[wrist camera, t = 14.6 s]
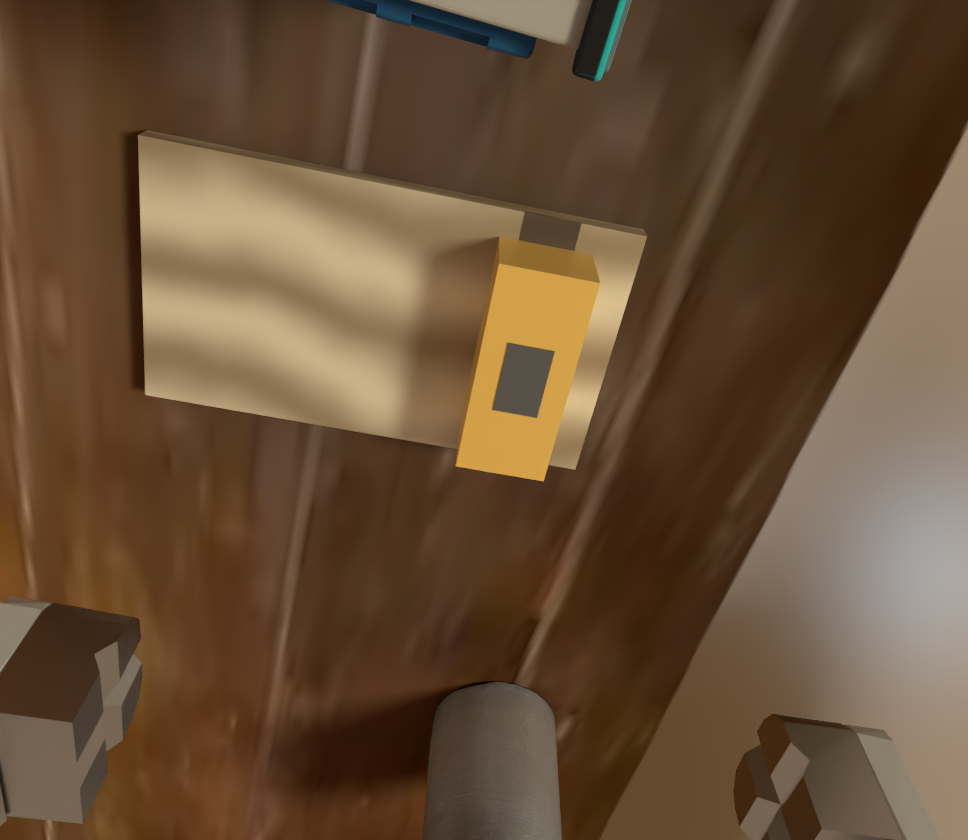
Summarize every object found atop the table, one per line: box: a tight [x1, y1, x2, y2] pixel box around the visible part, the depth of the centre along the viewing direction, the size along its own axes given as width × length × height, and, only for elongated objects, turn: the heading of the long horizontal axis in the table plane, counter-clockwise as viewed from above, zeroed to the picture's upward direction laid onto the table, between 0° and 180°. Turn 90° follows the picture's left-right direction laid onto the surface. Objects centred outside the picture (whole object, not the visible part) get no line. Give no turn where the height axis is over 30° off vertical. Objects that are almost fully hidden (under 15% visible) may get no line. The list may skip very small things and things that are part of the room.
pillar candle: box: [422, 682, 562, 840], centre depth 57 cm, size 10×10×15 cm
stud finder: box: [456, 236, 600, 481], centre depth 44 cm, size 12×5×4 cm, turn 169°
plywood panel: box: [138, 130, 647, 469], centre depth 45 cm, size 15×26×1 cm, turn 79°
